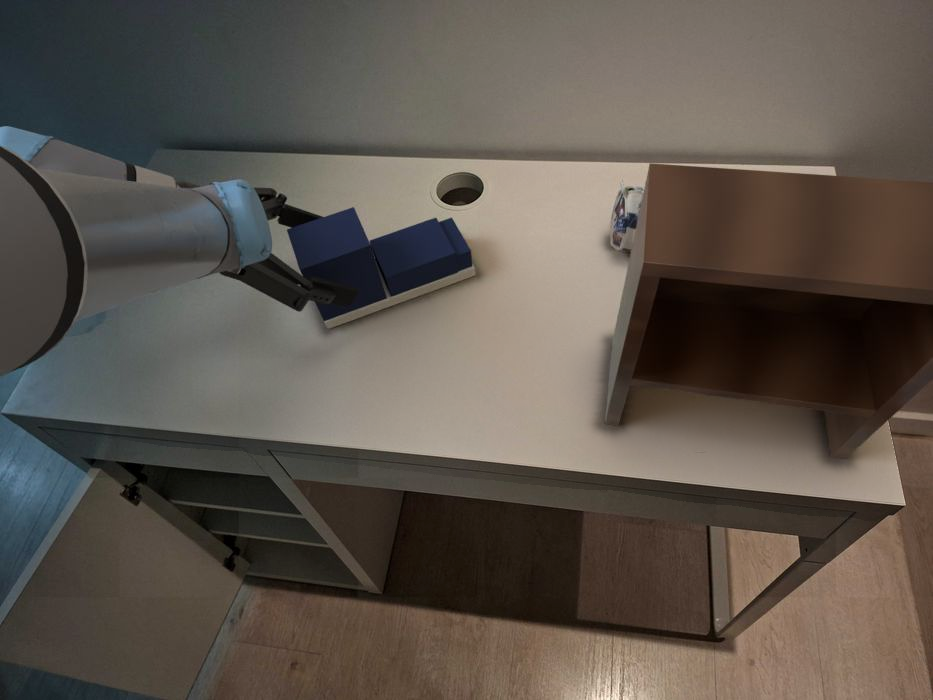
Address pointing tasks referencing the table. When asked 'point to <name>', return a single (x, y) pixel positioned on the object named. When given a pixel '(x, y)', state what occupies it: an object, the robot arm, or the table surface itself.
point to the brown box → (780, 294)
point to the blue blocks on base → (379, 261)
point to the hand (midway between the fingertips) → (339, 261)
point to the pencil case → (625, 217)
